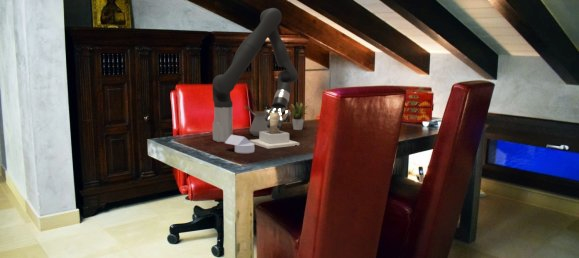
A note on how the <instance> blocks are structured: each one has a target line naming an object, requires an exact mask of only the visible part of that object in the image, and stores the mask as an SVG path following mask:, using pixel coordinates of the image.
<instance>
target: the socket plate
mask: <svg viewBox="0 0 579 258" xmlns="http://www.w3.org/2000/svg"><path fill="white" fill-rule="evenodd" d="M279 132H280V134H269V133H270V131H262V132H259V136H258V138H256V139H255V138H254V139H248V140H249V141H250V142H251V143H254V145H256V146H259V147H262V148H265V149H268V150H269V149H277V148H284V147H286V148H287V147H294V146H295V145H297V146H300V142H298V141H294V140H291V139H290V133H289V132H287V131H283V130H279Z"/></svg>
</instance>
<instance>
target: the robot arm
mask: <svg viewBox="0 0 579 258" xmlns="http://www.w3.org/2000/svg"><path fill="white" fill-rule="evenodd" d="M260 13H261V14H260V18H259V20H260V22H259V24H258V25H257V27H256V28H255V29H254V30H253V31H252V32H251V33H250V34H248V35H247V37H245V38H244V39H243V41H242V42H241V43H240V45H239V47H238V48H237V50H236V52H235V54H234V56H233V60H232V62H231V65H230V66H229V67H228V69H227V70H226V71H225V72H224V73H223V74H218V75H216V76H215V77H213V80H212V85H211V86H212V101H213V109H214V111H213V114H214V115H213V117H214V118H213V121H212V140H213V141H215V142H217V143H219V142H222V143H225V142H226V140H227V139H228V138H229V137H230V136H231V135H234V134H233V131H234V130H233V126H234V125H233V115H234V114H233V111H234V110H233V107H234V106H233V104H234V103H233V100H232V98H231V92H232V91H234V89H235V88H236V86H237V83H238V82H239V80H240V79H241V76H243V75H242V74H243V73H244V72H245V71H246V70H247V68H248V67H249V65H250V64H251V63H252V61H253V60H254V59H255V57H256V56H257V54H258V53H259V52H260V50H261V48H262V47H263V45H264V44H265V42H266V40H267V39H268V40H269V44H270V46H271V48H272V51H273V55H274V58H275V61H276V64H277V67H280V68H281V67H282V68H285V69H284V70H282V71H280V72H278V75H277V89H276V92H275V94H274V97H273V101H272V104H271V108H270V109H267V108H265V109H264V110H263V111H265V120H266V121H267V124H266V125H267V127H268V128H270V113H272V112H277V113H279V121H278V125H277V128H278V129H279V130H280V129H281V127H282V125H283V123H287V121H288V120H289V119H290V117H291V115H292V112H291V110H289V109H288V103H289V101H290V95H291V91H292V85H291V84H292V83H295V82H297V80H298V79H299V74H298V71H297V70H296V67H295V65H293V63H292V61H291V58H290V56H289V52H288V49H287V47H286V44H285V43H284V41H283V40H282V38H281V35H280V34H279V33H280V32H279V29H278V26H279V24H281V22H282V16H283V15H282V12H281V11H280V10H279V9H278V8H276V7H271V8H266V9H265V10H263V11H262V12H260ZM287 109H288V110H287Z"/></svg>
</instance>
